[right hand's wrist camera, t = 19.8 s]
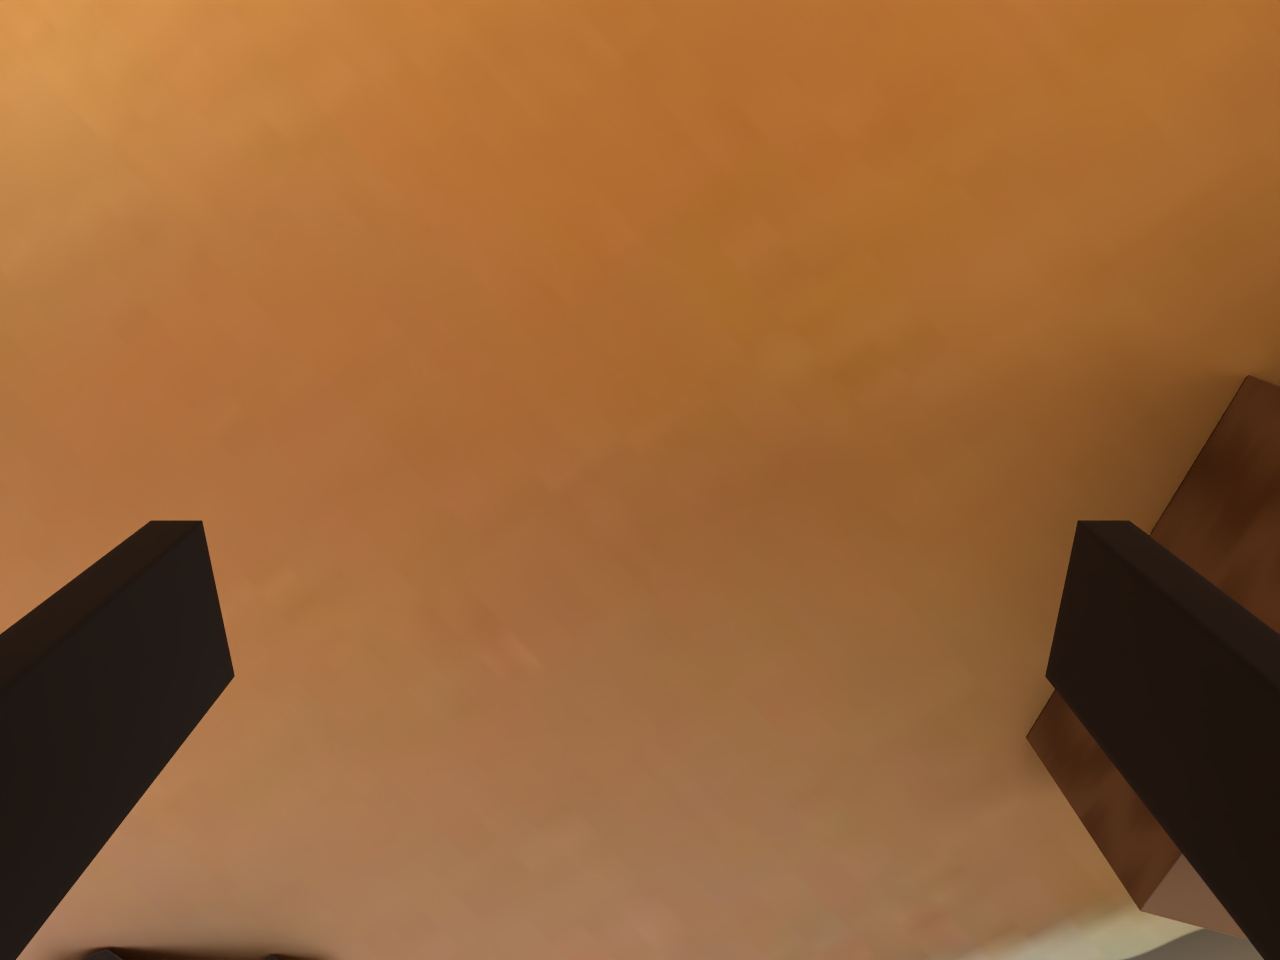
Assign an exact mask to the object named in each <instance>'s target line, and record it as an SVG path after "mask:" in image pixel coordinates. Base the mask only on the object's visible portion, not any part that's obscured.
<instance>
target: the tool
mask: <svg viewBox="0 0 1280 960" xmlns="http://www.w3.org/2000/svg"><path fill="white" fill-rule="evenodd" d="M83 960H123V959H121V958H120V957H118V956H117V955H115V954H114V953H112V952H111V951H109V950H108V949H107V950H103V951H99V952H95V953H91V954H90V955H88V956H87V957H85V958H84V959H83ZM267 960H278V959H277V958H276V957H275V956H270V957H269V958H268V959H267Z"/></svg>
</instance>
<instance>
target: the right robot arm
mask: <svg viewBox="0 0 1280 960" xmlns="http://www.w3.org/2000/svg"><path fill="white" fill-rule="evenodd" d="M233 678H234V671H233V666H232V662H231V657H230V652H229V647H228V642H227V638H226V633H225V628H224V623H223V618H222V614H221V609H220V604H219V599H218V594H217V590H216V585H215V580H214V575H213V571H212V566H211V561H210V556H209V551H208V547H207V542H206V537H205V532H204V527H203V523H202V521H150V522H149V523H147V524H146V525H145V526H143V527H142V528H141V529H139V530H138V531H137V532H135V533H134V534H133V535H131V536H130V537H129V538H127V539H126V540H125V541H123V542H122V543H121V544H119V545H118V546H117V547H115V548H114V549H113V550H111V551H110V552H109V553H108V554H106V555H105V556H104V557H102V558H101V559H100V560H98V561H97V562H96V563H94V564H93V565H92V566H90V567H89V568H88V569H86V570H85V571H84V572H82V573H81V574H80V575H78V576H77V577H76V578H74V579H73V580H72V581H70V582H69V583H68V584H67V585H65V586H64V587H63V588H61V589H60V590H59V591H57V592H56V593H55V594H53V595H52V596H51V597H49V598H48V599H47V600H45V601H44V602H43V603H41V604H40V605H39V606H37V607H36V608H35V609H33V610H32V611H31V612H29V613H28V614H27V615H25V616H24V617H23V618H22V619H20V620H19V621H18V622H16V623H15V624H14V625H12V626H11V627H10V628H8V629H7V630H6V631H4V632H3V633H2V634H0V960H16V959H17V957H18V956H19V955H20V954H21V952H22V951H23V950H24V948H25V947H26V946H27V944H28V943H29V942H30V941H31V939H32V938H33V937H34V935H35V934H36V933H37V931H38V930H39V929H40V928H41V926H42V925H43V924H44V922H45V921H46V920H47V919H48V917H49V916H50V915H51V913H52V912H53V911H54V909H55V908H56V907H57V906H58V904H59V903H60V902H61V900H62V899H63V898H64V897H65V895H66V894H67V893H68V891H69V890H70V889H71V887H72V886H73V885H74V884H75V882H76V881H77V880H78V878H79V877H80V876H81V874H82V873H83V872H84V871H85V869H86V868H87V867H88V865H89V864H90V863H91V862H92V860H93V859H94V858H95V856H96V855H97V854H98V852H99V851H100V850H101V849H102V847H103V846H104V845H105V843H106V842H107V841H108V840H109V838H110V837H111V836H112V834H113V833H114V832H115V830H116V829H117V828H118V827H119V825H120V824H121V823H122V821H123V820H124V819H125V817H126V816H127V815H128V814H129V812H130V811H131V810H132V808H133V807H134V806H135V805H136V803H137V802H138V801H139V799H140V798H141V797H142V795H143V794H144V793H145V792H146V790H147V789H148V788H149V786H150V785H151V784H152V783H153V781H154V780H155V779H156V777H157V776H158V775H159V773H160V772H161V771H162V770H163V768H164V767H165V766H166V764H167V763H168V762H169V760H170V759H171V758H172V757H173V755H174V754H175V753H176V751H177V750H178V749H179V748H180V746H181V745H182V744H183V742H184V741H185V740H186V738H187V737H188V736H189V735H190V733H191V732H192V731H193V729H194V728H195V727H196V726H197V724H198V723H199V722H200V720H201V719H202V718H203V716H204V715H205V714H206V713H207V711H208V710H209V709H210V707H211V706H212V705H213V703H214V702H215V701H216V700H217V698H218V697H219V696H220V694H221V693H222V692H223V691H224V689H225V688H226V687H227V685H228V684H229V683H230V681H231V680H232V679H233ZM1046 678H1047V679H1048V680H1049V681H1050V683H1051V684H1052V685H1053V687H1054V688H1055V689H1056V691H1057V692H1058V693H1059V694H1060V696H1061V697H1062V698H1063V700H1064V701H1065V702H1066V703H1067V705H1068V706H1069V707H1070V709H1071V710H1072V711H1073V713H1074V714H1075V715H1076V716H1077V718H1078V719H1079V720H1080V722H1081V723H1082V724H1083V726H1084V727H1085V728H1086V729H1087V731H1088V732H1089V733H1090V735H1091V736H1092V737H1093V738H1094V740H1095V741H1096V742H1097V744H1098V745H1099V746H1100V748H1101V749H1102V750H1103V751H1104V753H1105V754H1106V755H1107V757H1108V758H1109V759H1110V760H1111V762H1112V763H1113V764H1114V766H1115V767H1116V768H1117V770H1118V771H1119V772H1120V773H1121V775H1122V776H1123V777H1124V779H1125V780H1126V781H1127V783H1128V784H1129V785H1130V786H1131V788H1132V789H1133V790H1134V792H1135V793H1136V794H1137V795H1138V797H1139V798H1140V799H1141V801H1142V802H1143V803H1144V805H1145V806H1146V807H1147V808H1148V810H1149V811H1150V812H1151V814H1152V815H1153V816H1154V817H1155V819H1156V820H1157V821H1158V823H1159V824H1160V825H1161V827H1162V828H1163V829H1164V830H1165V832H1166V833H1167V834H1168V836H1169V837H1170V838H1171V840H1172V841H1173V842H1174V843H1175V845H1176V846H1177V847H1178V849H1179V850H1180V851H1181V852H1182V854H1183V855H1184V856H1185V858H1186V859H1187V860H1188V862H1189V863H1190V864H1191V865H1192V867H1193V868H1194V869H1195V871H1196V872H1197V873H1198V874H1199V876H1200V877H1201V878H1202V880H1203V881H1204V882H1205V884H1206V885H1207V886H1208V887H1209V889H1210V890H1211V891H1212V893H1213V894H1214V895H1215V897H1216V898H1217V899H1218V900H1219V902H1220V903H1221V904H1222V906H1223V907H1224V908H1225V909H1226V911H1227V912H1228V913H1229V915H1230V916H1231V917H1232V919H1233V920H1234V921H1235V922H1236V924H1237V925H1238V926H1239V928H1240V929H1241V930H1242V931H1243V933H1244V934H1245V935H1246V937H1247V938H1248V939H1249V941H1250V942H1251V943H1252V944H1253V946H1254V947H1255V948H1256V950H1257V951H1258V952H1259V953H1260V955H1261V956H1262V957H1263V959H1264V960H1280V634H1278V633H1277V632H1276V631H1274V630H1273V629H1272V628H1270V627H1269V626H1268V625H1266V624H1265V623H1264V622H1262V621H1261V620H1260V619H1258V618H1257V617H1256V616H1255V615H1253V614H1252V613H1251V612H1249V611H1248V610H1247V609H1245V608H1244V607H1243V606H1241V605H1240V604H1239V603H1237V602H1236V601H1235V600H1233V599H1232V598H1231V597H1229V596H1228V595H1227V594H1225V593H1224V592H1223V591H1221V590H1220V589H1219V588H1217V587H1216V586H1215V585H1213V584H1212V583H1211V582H1210V581H1208V580H1207V579H1206V578H1204V577H1203V576H1202V575H1200V574H1199V573H1198V572H1196V571H1195V570H1194V569H1192V568H1191V567H1190V566H1188V565H1187V564H1186V563H1184V562H1183V561H1182V560H1180V559H1179V558H1178V557H1176V556H1175V555H1174V554H1172V553H1171V552H1170V551H1169V550H1167V549H1166V548H1165V547H1163V546H1162V545H1161V544H1159V543H1158V542H1157V541H1155V540H1154V539H1153V538H1151V537H1150V536H1149V535H1147V534H1146V533H1145V532H1143V531H1142V530H1141V529H1139V528H1138V527H1137V526H1135V525H1134V524H1133V523H1131V522H1130V521H1078V523H1077V527H1076V532H1075V537H1074V542H1073V547H1072V551H1071V556H1070V561H1069V566H1068V571H1067V575H1066V580H1065V585H1064V590H1063V594H1062V599H1061V604H1060V609H1059V614H1058V618H1057V623H1056V628H1055V633H1054V638H1053V642H1052V647H1051V652H1050V657H1049V662H1048V666H1047V671H1046Z"/></svg>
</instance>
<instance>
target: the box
mask: <svg viewBox="0 0 1280 960" xmlns="http://www.w3.org/2000/svg"><path fill="white" fill-rule="evenodd" d="M1150 537H1151V538H1153V539H1154V540H1155V541H1157V542H1158V543H1159V544H1161V545H1162V546H1163V547H1165V548H1166V549H1167V550H1169V551H1170V552H1171V553H1172V554H1174V555H1175V556H1176V557H1178V558H1179V559H1180V560H1182V561H1183V562H1184V563H1186V564H1187V565H1188V566H1190V567H1191V568H1192V569H1194V570H1195V571H1196V572H1198V573H1199V574H1200V575H1202V576H1203V577H1204V578H1206V579H1207V580H1208V581H1210V582H1211V583H1212V584H1213V585H1215V586H1216V587H1217V588H1219V589H1220V590H1221V591H1223V592H1224V593H1225V594H1227V595H1228V596H1229V597H1231V598H1232V599H1233V600H1235V601H1236V602H1237V603H1239V604H1240V605H1241V606H1243V607H1244V608H1245V609H1247V610H1248V611H1249V612H1251V613H1252V614H1253V615H1255V616H1256V617H1257V618H1258V619H1260V620H1261V621H1262V622H1264V623H1265V624H1266V625H1268V626H1269V627H1270V628H1272V629H1273V630H1274V631H1276V632H1277V633H1278V634H1280V386H1277V385H1275V384H1272V383H1269V382H1266V381H1263V380H1261V379H1258V378H1255V377H1252V376H1247V378H1246V380H1245V381H1244V383H1243V385H1242V386H1241V388H1240V389H1239V391H1238V393H1237V394H1236V396H1235V398H1234V399H1233V401H1232V403H1231V404H1230V406H1229V407H1228V409H1227V411H1226V412H1225V414H1224V416H1223V417H1222V419H1221V420H1220V422H1219V424H1218V425H1217V427H1216V429H1215V430H1214V432H1213V434H1212V435H1211V437H1210V438H1209V440H1208V442H1207V443H1206V445H1205V447H1204V448H1203V450H1202V452H1201V453H1200V455H1199V456H1198V458H1197V460H1196V461H1195V463H1194V465H1193V466H1192V468H1191V469H1190V471H1189V473H1188V474H1187V476H1186V478H1185V479H1184V481H1183V483H1182V484H1181V486H1180V487H1179V489H1178V491H1177V492H1176V494H1175V496H1174V497H1173V499H1172V501H1171V502H1170V504H1169V505H1168V507H1167V509H1166V510H1165V512H1164V514H1163V515H1162V517H1161V518H1160V520H1159V522H1158V523H1157V525H1156V527H1155V528H1154V530H1153V532H1152V533H1151V535H1150ZM1027 740H1028V741H1029V743H1030V744H1031V746H1032V747H1033V749H1034V750H1035V752H1036V753H1037V755H1038V756H1039V758H1040V759H1041V761H1042V762H1043V764H1044V765H1045V767H1046V768H1047V770H1048V772H1049V773H1050V775H1051V776H1052V778H1053V779H1054V781H1055V782H1056V784H1057V785H1058V787H1059V788H1060V790H1061V791H1062V793H1063V794H1064V796H1065V797H1066V799H1067V800H1068V802H1069V803H1070V805H1071V806H1072V808H1073V809H1074V811H1075V813H1076V814H1077V816H1078V817H1079V819H1080V820H1081V822H1082V823H1083V825H1084V826H1085V828H1086V829H1087V831H1088V832H1089V834H1090V835H1091V837H1092V838H1093V840H1094V841H1095V843H1096V844H1097V846H1098V847H1099V849H1100V850H1101V852H1102V854H1103V855H1104V857H1105V858H1106V860H1107V861H1108V863H1109V864H1110V866H1111V867H1112V869H1113V870H1114V872H1115V873H1116V875H1117V876H1118V878H1119V879H1120V881H1121V882H1122V884H1123V885H1124V887H1125V888H1126V890H1127V891H1128V893H1129V895H1130V896H1131V898H1132V899H1133V901H1134V902H1135V904H1136V905H1137V907H1138V908H1139V910H1140V911H1142V912H1146V913H1150V914H1154V915H1157V916H1161V917H1165V918H1169V919H1172V920H1176V921H1180V922H1184V923H1187V924H1191V925H1195V926H1199V927H1202V928H1206V929H1210V930H1214V931H1217V932H1221V933H1225V934H1229V935H1232V936H1236V937H1240V938H1244V939H1247V940H1249V939H1248V938H1247V937H1246V935H1245V934H1244V933H1243V931H1242V930H1241V929H1240V928H1239V926H1238V925H1237V924H1236V922H1235V921H1234V920H1233V919H1232V917H1231V916H1230V915H1229V913H1228V912H1227V911H1226V909H1225V908H1224V907H1223V906H1222V904H1221V903H1220V902H1219V900H1218V899H1217V898H1216V897H1215V895H1214V894H1213V893H1212V891H1211V890H1210V889H1209V887H1208V886H1207V885H1206V884H1205V882H1204V881H1203V880H1202V878H1201V877H1200V876H1199V874H1198V873H1197V872H1196V871H1195V869H1194V868H1193V867H1192V865H1191V864H1190V863H1189V862H1188V860H1187V859H1186V858H1185V856H1184V855H1183V854H1182V852H1181V851H1180V850H1179V849H1178V847H1177V846H1176V845H1175V843H1174V842H1173V841H1172V840H1171V838H1170V837H1169V836H1168V834H1167V833H1166V832H1165V830H1164V829H1163V828H1162V827H1161V825H1160V824H1159V823H1158V821H1157V820H1156V819H1155V817H1154V816H1153V815H1152V814H1151V812H1150V811H1149V810H1148V808H1147V807H1146V806H1145V805H1144V803H1143V802H1142V801H1141V799H1140V798H1139V797H1138V795H1137V794H1136V793H1135V792H1134V790H1133V789H1132V788H1131V786H1130V785H1129V784H1128V783H1127V781H1126V780H1125V779H1124V777H1123V776H1122V775H1121V773H1120V772H1119V771H1118V770H1117V768H1116V767H1115V766H1114V764H1113V763H1112V762H1111V760H1110V759H1109V758H1108V757H1107V755H1106V754H1105V753H1104V751H1103V750H1102V749H1101V748H1100V746H1099V745H1098V744H1097V742H1096V741H1095V740H1094V738H1093V737H1092V736H1091V735H1090V733H1089V732H1088V731H1087V729H1086V728H1085V727H1084V726H1083V724H1082V723H1081V722H1080V720H1079V719H1078V718H1077V716H1076V715H1075V714H1074V713H1073V711H1072V710H1071V709H1070V707H1069V706H1068V705H1067V703H1066V702H1065V701H1064V700H1063V698H1062V697H1061V696H1060V694H1059V693H1058V692H1057V691H1056V690H1055V692H1054V693H1053V695H1052V697H1051V698H1050V700H1049V701H1048V703H1047V705H1046V706H1045V708H1044V710H1043V711H1042V713H1041V715H1040V716H1039V718H1038V719H1037V721H1036V723H1035V724H1034V726H1033V728H1032V729H1031V731H1030V732H1029V734H1028V736H1027Z"/></svg>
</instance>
